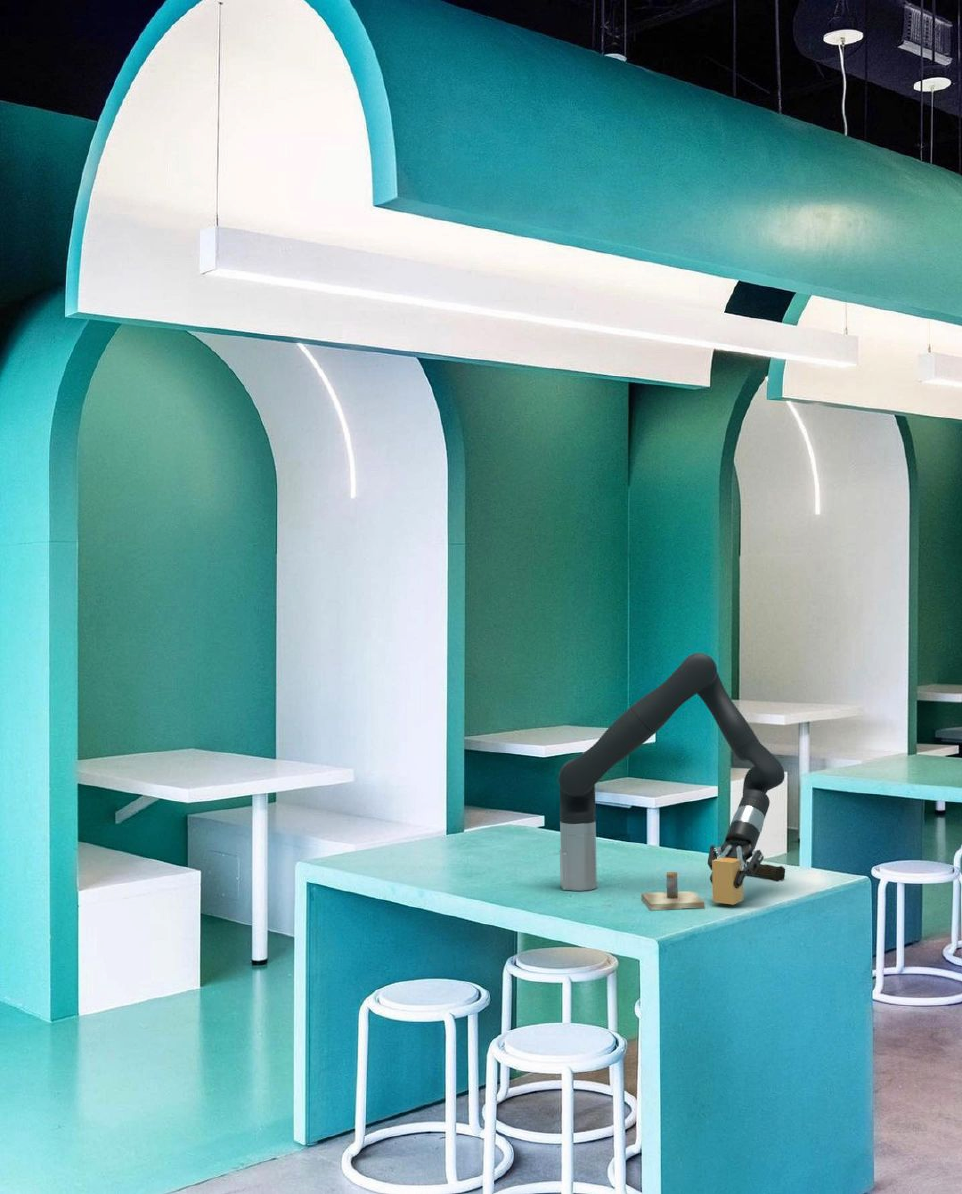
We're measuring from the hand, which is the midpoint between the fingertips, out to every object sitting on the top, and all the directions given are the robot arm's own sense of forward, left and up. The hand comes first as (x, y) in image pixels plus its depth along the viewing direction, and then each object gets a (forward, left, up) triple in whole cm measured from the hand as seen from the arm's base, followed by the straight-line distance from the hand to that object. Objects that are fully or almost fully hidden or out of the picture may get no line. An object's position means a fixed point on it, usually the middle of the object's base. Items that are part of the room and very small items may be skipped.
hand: (724, 885), depth 333 cm
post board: (-12, +5, -5) cm, 14 cm away
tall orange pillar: (+1, +1, -4) cm, 5 cm away
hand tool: (+16, +36, -6) cm, 39 cm away
